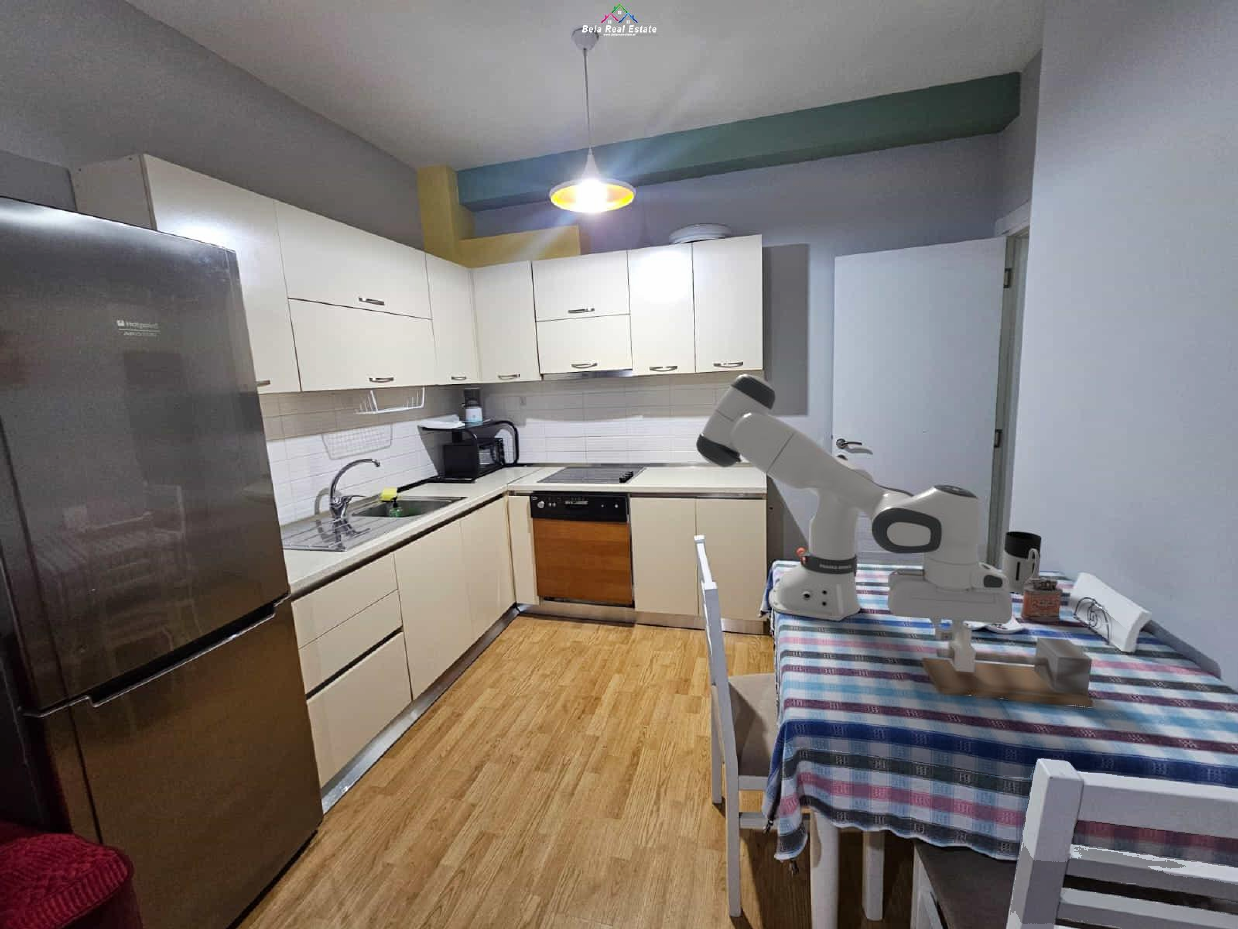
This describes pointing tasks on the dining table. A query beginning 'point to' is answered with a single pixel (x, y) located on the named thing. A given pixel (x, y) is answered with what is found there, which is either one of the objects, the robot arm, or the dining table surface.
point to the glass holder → (1021, 559)
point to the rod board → (1019, 675)
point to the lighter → (1041, 600)
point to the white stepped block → (962, 650)
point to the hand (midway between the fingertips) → (944, 639)
